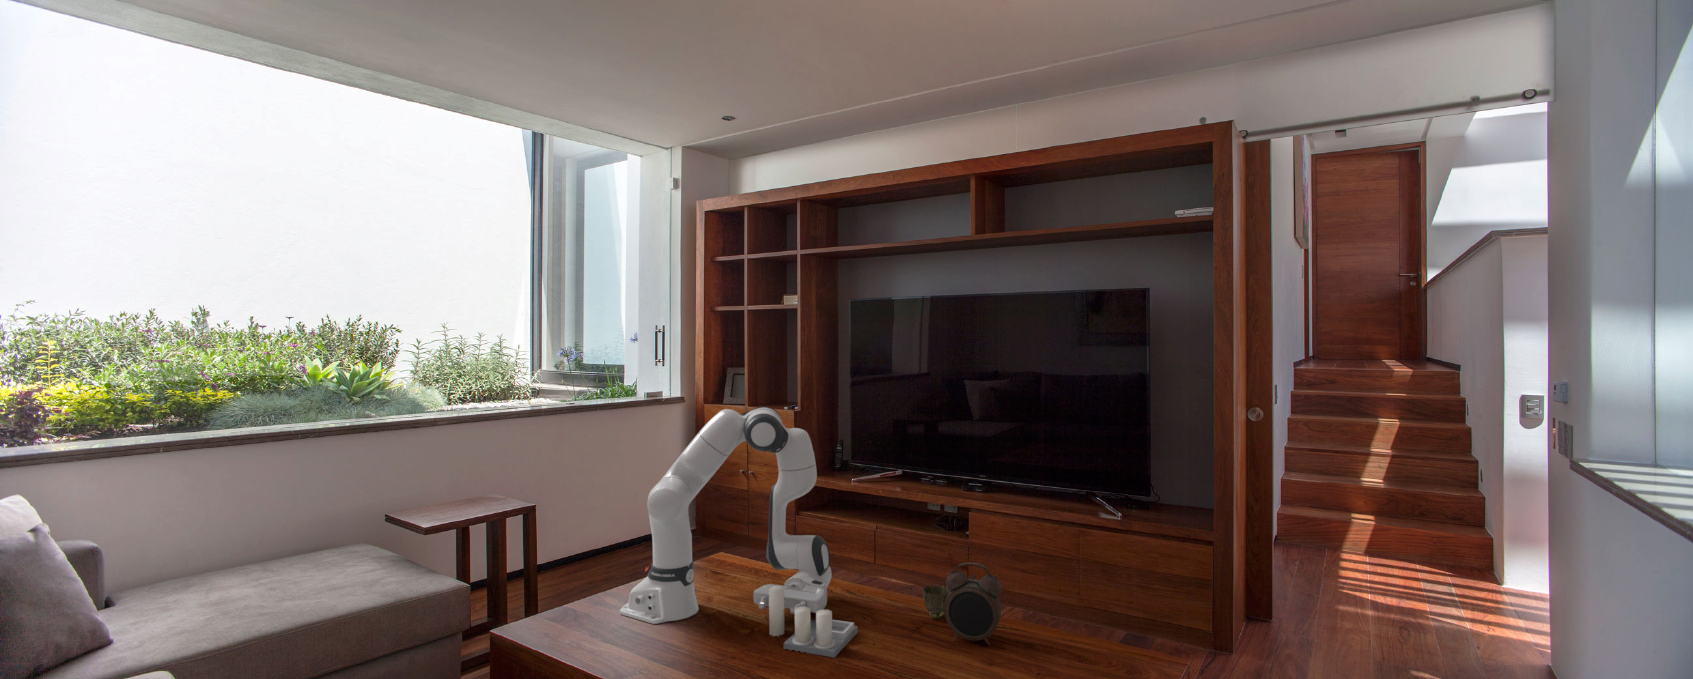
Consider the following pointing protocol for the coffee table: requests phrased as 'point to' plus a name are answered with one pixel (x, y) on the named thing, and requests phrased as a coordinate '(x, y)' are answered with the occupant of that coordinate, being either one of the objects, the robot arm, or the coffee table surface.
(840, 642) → the pin board
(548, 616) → the coffee table surface
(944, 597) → the cup
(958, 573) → the alarm clock
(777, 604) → the ivory pin
